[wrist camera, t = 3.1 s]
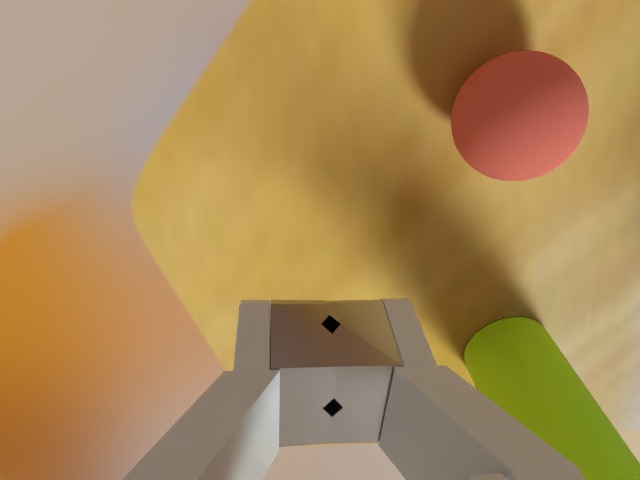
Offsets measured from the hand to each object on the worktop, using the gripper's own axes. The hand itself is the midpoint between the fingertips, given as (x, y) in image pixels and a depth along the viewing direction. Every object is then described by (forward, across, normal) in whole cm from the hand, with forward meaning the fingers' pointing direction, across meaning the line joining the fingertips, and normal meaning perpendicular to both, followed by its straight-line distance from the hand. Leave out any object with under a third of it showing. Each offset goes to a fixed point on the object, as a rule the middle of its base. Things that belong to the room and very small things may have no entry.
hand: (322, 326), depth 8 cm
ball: (+13, -10, 0) cm, 16 cm away
